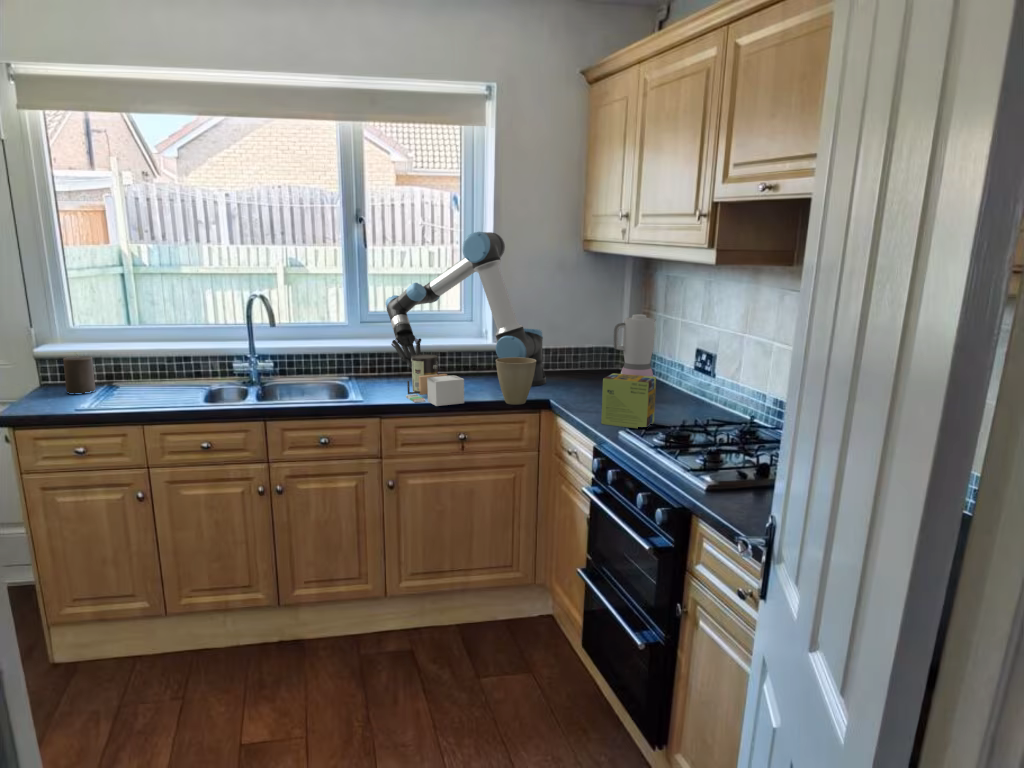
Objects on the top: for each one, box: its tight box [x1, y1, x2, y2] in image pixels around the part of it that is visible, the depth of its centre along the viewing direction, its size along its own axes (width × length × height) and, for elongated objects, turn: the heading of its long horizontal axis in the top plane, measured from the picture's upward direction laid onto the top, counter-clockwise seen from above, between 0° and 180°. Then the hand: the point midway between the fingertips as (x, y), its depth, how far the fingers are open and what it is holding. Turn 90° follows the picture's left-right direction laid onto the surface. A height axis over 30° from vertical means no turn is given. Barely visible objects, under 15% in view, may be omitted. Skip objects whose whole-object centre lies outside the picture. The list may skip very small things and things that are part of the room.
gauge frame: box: [405, 374, 465, 407], centre depth 259 cm, size 16×18×9 cm
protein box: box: [600, 372, 657, 429], centre depth 227 cm, size 10×15×16 cm
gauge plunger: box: [406, 373, 448, 396], centre depth 263 cm, size 16×8×7 cm, turn 118°
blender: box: [613, 313, 657, 377], centre depth 260 cm, size 16×12×32 cm
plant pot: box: [495, 357, 536, 406], centre depth 256 cm, size 15×15×16 cm
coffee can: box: [411, 353, 439, 395], centre depth 274 cm, size 10×10×14 cm
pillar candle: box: [62, 355, 96, 393], centre depth 268 cm, size 10×10×15 cm
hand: (416, 373), depth 283 cm, fingers closed
